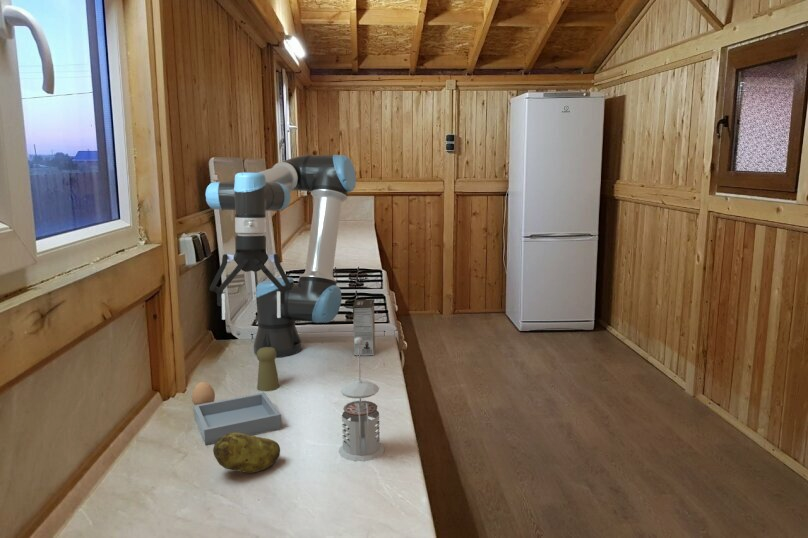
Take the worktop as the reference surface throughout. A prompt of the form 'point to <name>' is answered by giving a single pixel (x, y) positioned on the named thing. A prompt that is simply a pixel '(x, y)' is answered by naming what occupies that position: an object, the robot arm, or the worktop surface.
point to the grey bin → (236, 417)
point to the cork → (267, 370)
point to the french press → (360, 421)
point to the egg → (203, 394)
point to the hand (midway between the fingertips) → (251, 317)
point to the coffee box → (364, 326)
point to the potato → (245, 452)
